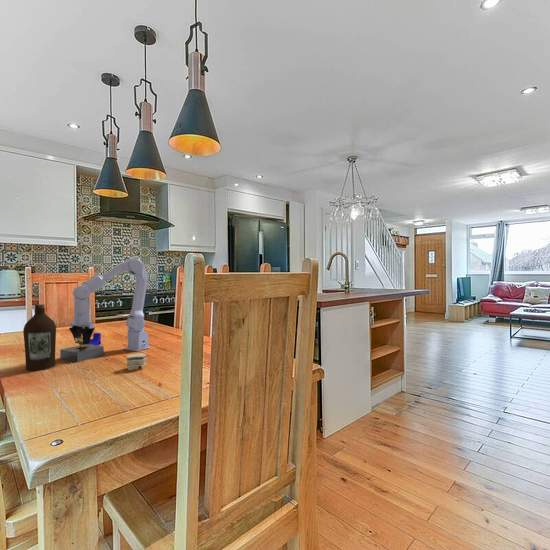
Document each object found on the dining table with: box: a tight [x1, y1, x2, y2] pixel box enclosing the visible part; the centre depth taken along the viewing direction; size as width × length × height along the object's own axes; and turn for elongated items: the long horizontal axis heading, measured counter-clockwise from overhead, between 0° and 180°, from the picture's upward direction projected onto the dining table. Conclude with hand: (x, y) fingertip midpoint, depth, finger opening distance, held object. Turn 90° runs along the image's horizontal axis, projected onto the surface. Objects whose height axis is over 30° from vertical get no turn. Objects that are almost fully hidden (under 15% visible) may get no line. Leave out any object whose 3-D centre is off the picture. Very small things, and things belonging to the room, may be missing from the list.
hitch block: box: [59, 344, 105, 363], centre depth 145 cm, size 12×12×4 cm
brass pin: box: [74, 335, 86, 349], centre depth 145 cm, size 6×6×6 cm
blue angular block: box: [89, 332, 102, 346], centre depth 164 cm, size 12×4×6 cm, turn 0°
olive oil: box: [22, 303, 57, 372], centre depth 129 cm, size 11×11×25 cm
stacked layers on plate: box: [125, 352, 148, 371], centre depth 128 cm, size 10×9×6 cm
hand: (82, 343), depth 145 cm, fingers closed on brass pin, 6 cm apart
